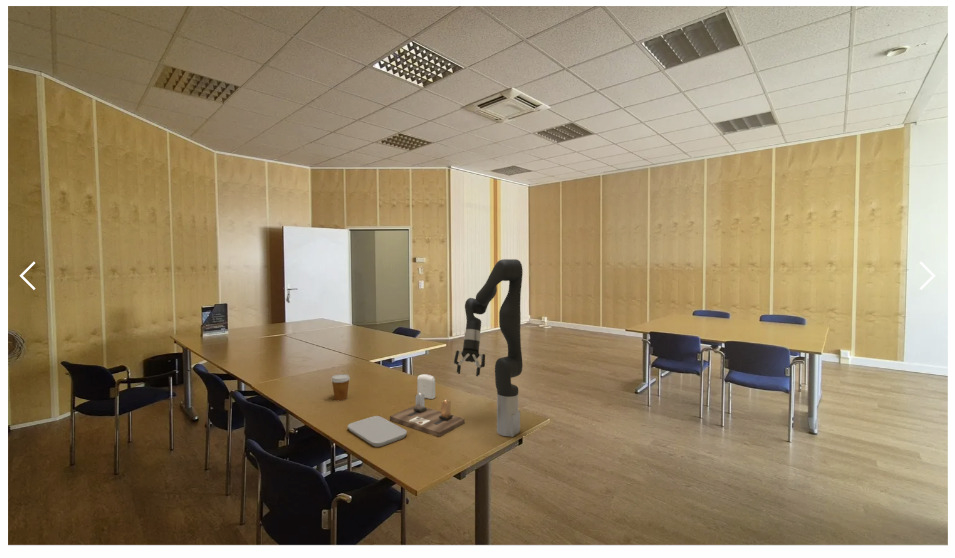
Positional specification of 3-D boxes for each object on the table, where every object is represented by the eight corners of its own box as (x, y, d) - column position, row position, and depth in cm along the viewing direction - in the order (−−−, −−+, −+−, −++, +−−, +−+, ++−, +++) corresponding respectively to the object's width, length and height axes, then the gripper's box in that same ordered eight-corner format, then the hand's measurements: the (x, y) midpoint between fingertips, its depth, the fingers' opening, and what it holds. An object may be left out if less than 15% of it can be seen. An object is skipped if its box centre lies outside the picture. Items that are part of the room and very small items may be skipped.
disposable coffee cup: (353, 395, 222) (352, 374, 221) (345, 402, 212) (345, 379, 211) (336, 395, 222) (335, 373, 222) (328, 401, 213) (327, 378, 212)
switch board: (464, 422, 186) (464, 417, 186) (439, 437, 172) (439, 431, 171) (416, 408, 203) (416, 404, 203) (389, 420, 189) (389, 415, 189)
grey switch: (426, 409, 196) (426, 392, 195) (420, 412, 192) (420, 395, 192) (419, 407, 198) (419, 390, 198) (413, 410, 195) (413, 393, 194)
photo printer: (416, 396, 220) (416, 374, 219) (420, 394, 224) (420, 372, 223) (432, 400, 215) (432, 377, 215) (436, 397, 219) (436, 375, 219)
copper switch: (452, 417, 187) (452, 399, 186) (446, 420, 183) (446, 402, 183) (445, 415, 189) (445, 397, 189) (439, 418, 186) (439, 400, 185)
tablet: (377, 419, 191) (377, 414, 191) (409, 437, 172) (409, 432, 172) (345, 430, 179) (344, 425, 179) (375, 450, 161) (375, 444, 161)
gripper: (458, 337, 186) (453, 372, 182) (488, 341, 189) (484, 376, 184) (455, 339, 193) (451, 373, 189) (484, 343, 196) (481, 377, 191)
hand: (467, 375), depth 186 cm, fingers open, 8 cm apart
